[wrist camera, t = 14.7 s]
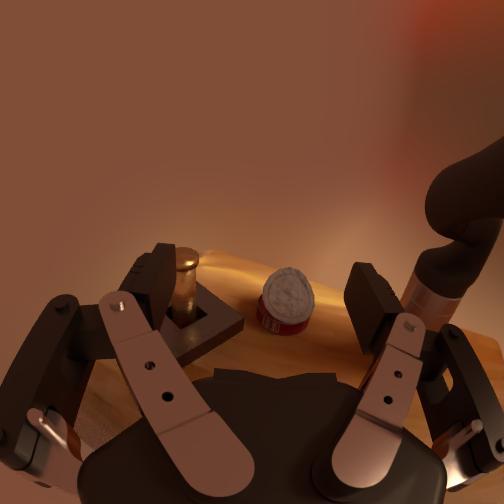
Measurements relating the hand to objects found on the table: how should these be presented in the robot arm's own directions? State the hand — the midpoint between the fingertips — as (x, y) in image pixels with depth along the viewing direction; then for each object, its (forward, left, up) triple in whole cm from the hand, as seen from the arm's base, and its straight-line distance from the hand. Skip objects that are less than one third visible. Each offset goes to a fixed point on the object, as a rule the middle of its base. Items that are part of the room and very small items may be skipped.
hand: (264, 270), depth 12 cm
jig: (-11, -23, -28) cm, 38 cm away
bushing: (-11, -23, -28) cm, 38 cm away
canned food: (-26, -13, -29) cm, 41 cm away
